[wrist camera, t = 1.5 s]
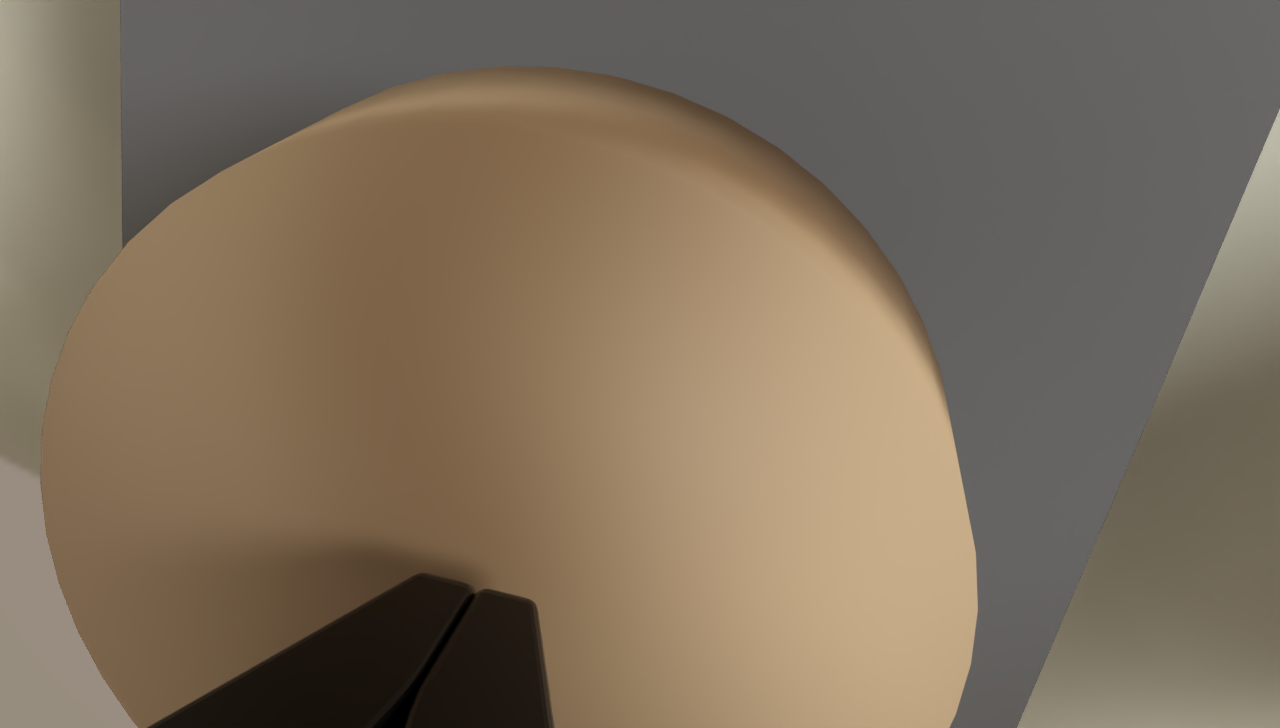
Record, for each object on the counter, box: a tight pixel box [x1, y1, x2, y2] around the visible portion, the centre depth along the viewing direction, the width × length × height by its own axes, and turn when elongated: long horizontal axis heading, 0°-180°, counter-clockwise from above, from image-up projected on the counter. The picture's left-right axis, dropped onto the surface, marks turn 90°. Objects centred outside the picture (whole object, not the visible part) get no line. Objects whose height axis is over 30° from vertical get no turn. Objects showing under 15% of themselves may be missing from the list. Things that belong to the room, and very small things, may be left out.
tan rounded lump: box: [40, 66, 978, 728], centre depth 11 cm, size 7×7×6 cm
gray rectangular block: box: [120, 0, 1280, 728], centre depth 17 cm, size 12×14×6 cm
